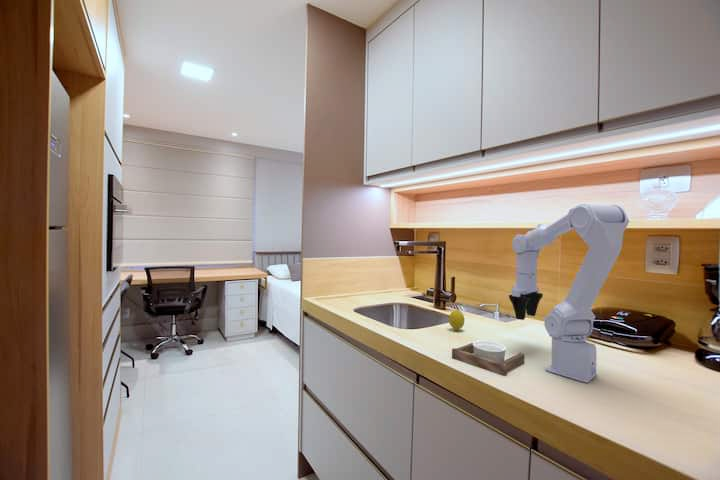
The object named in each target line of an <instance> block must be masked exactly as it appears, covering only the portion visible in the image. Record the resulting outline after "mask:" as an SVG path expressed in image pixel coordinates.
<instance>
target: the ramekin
mask: <svg viewBox="0 0 720 480" xmlns="http://www.w3.org/2000/svg"><path fill="white" fill-rule="evenodd" d="M472 343H473V342H472ZM473 347H474V353H473V354H474V355H478V356H481V357H484V358H487V359H490V360H493V361H497V362H500V363H501V362H503V361H505V360H506V359H505V356H506V351H507V347H506V346H505V345H504V344H502V343H499V342H495V341H490V340H476V341H474V343H473Z"/></svg>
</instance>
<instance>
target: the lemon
mask: <svg viewBox="0 0 720 480" xmlns="http://www.w3.org/2000/svg"><path fill="white" fill-rule="evenodd" d="M448 321H449V325H450V327H451V328H452V329H454V330H455V331H459V330H460V329H462V328H463V327H464V326H465V325H464V324H465V316H464V313H463V312H462V311H460V310H459V309H454V310H453V311H451V312H450V314H449V318H448Z"/></svg>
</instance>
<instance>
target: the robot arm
mask: <svg viewBox="0 0 720 480" xmlns="http://www.w3.org/2000/svg"><path fill="white" fill-rule="evenodd" d="M629 223H630V220H629V217H628V216H627V213H626V212H625V209H624V208H623V207H621V206H620V205H617V204H611V205H609V204H608V205H607V204H606V205H603V204H586V203H581V204H577V206H574V207H572V208H570V209H569V210H568V213H566V214H564V215H563V216H562V217H560V218H559V219H557V220H555V221H554V222H553V223H551V224H544V223H540V224H538V225H536V226H537V227H536V228H534V229H532V230H529V231H527V232H526V233H525V234H516V235H515V236H514V237H513V239H512V242H511V243H512V244H511V248H512V250H513V251H514V253H516V254H515V256H516V257H515V259H516V260H515V267H516V268H515V270H516V271H515V285H513V286H512V290H511V294H509V295H508V299H509V300H510V302H511V304H512V307H513V310H514V311H513V312H514V313H515V317H516V319H517V320H521V321H524V320H525V319H526V316H531V317H535V316H536V313H537V311H538V306H539V304H540V301H541V299H542V298H543V296H544V294H543V293H542V292H541V293H540V285H538V284H537V283H538V279H537V276H538V259H539V257H540V252H541V251H542V248H544V247H547V246H549V245H551V244H553V243H555V242H556V241H557V238H558V237H559V236H560V235H563V234H565V233H568V232H570V231H575V232H576V233H577V235H578V236H579V237H580V238H581V240H582V241H583V242H584V243H585V244H587V246H588V247H589V248H588V250H587V251H586V252H587V253H586V255H585V257H584V259H583V261H582V263H581V265H580V267H579V269H578V272H577V274H576V276H575V278H574V280H573V282H572V285H571V286H570V288H569V290H568V293H567V295H566V297H565V298H564V301H562V302H560V303H558V304H556V305H555V306H553V308H552V309H551V311H550V312H548V313H547V314H546V315H545V317H544V323H543V325H544V327H545V330H546V332H547V333H548V335H549V337H550V338H551V364H550V365H548V367H546V368H545V371H546V372H550V373H551V374H552V373H553V374H556V375H559V376H562V377H567V378H570V379H573V380H575V381H576V380H577V381H580V382H583V383H589V382H591V381H592V380H593V379H594V378H595V377H596V376H597V375H598V373H597V346H596V344H594V343H592V342H588V341H587V340H588V336H590V335H591V334H592V333H593V330H594V321H595V319H596V315H595V314H594V313H593V311H592V310H591V308H592V306H593V304H594V302H595V301H596V299H597V297H598V294H599V293H600V291H601V289H602V287H603V285H604V283H605V282H606V280H607V278H608V276H609V274H610V272H611V270H612V269H613V267H614V265H615V262H616V261H617V259H618V257H619V255H620V254H621V252H622V248H623V241H624V233H625V231H626V229H627V227H628V225H629ZM526 314H527V315H526Z"/></svg>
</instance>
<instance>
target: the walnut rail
mask: <svg viewBox="0 0 720 480" xmlns="http://www.w3.org/2000/svg"><path fill="white" fill-rule="evenodd" d="M474 342H475V341H474ZM474 342H471V343H468V344H466V345H463V346H460V347H458V348H451V358H452V359H455V360H457V361H461V362H463V363H467V364H470V365H472V366H475V367H478V368H481V369H484V370H487V371H490V372H492V373H496V374H498V375H502V376H503V377H504V376H507V375H508V372H511V371H513V370H514V369H516V368H518V367H519V366H522V365H524V364H525V353H522V352H519V353H517V354H516V355H513V356H510V357H509V358H507V359H504V361H503V362H501V363H500V362H497V361H493V360H490V359H487V358H484V357H481V356H478V355H474V347H473V343H474Z"/></svg>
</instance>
